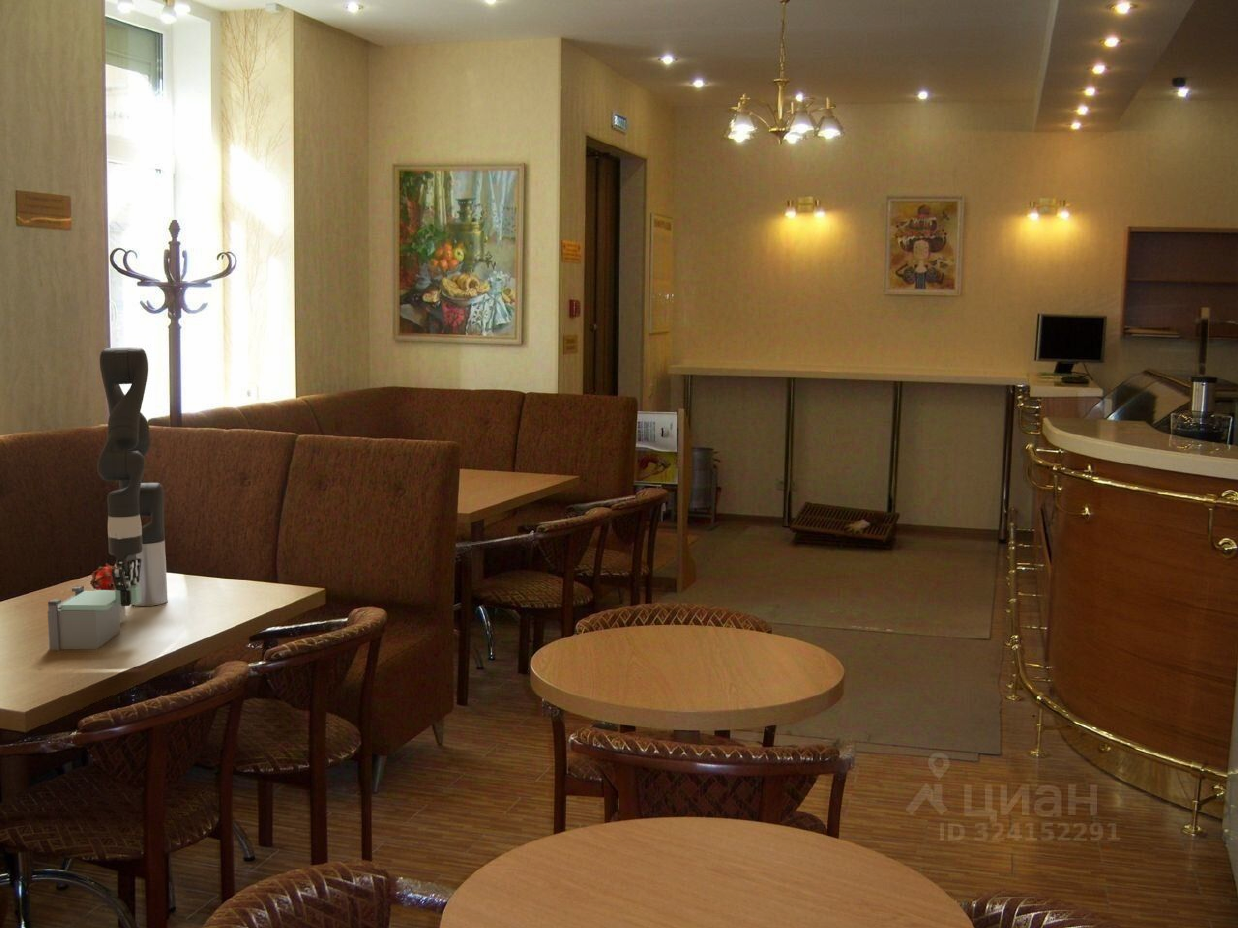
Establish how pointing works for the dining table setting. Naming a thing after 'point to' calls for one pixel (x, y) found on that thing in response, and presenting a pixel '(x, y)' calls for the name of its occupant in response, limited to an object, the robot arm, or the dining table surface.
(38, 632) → the dining table surface
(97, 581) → the dragon fruit
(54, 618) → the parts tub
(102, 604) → the snap lid
